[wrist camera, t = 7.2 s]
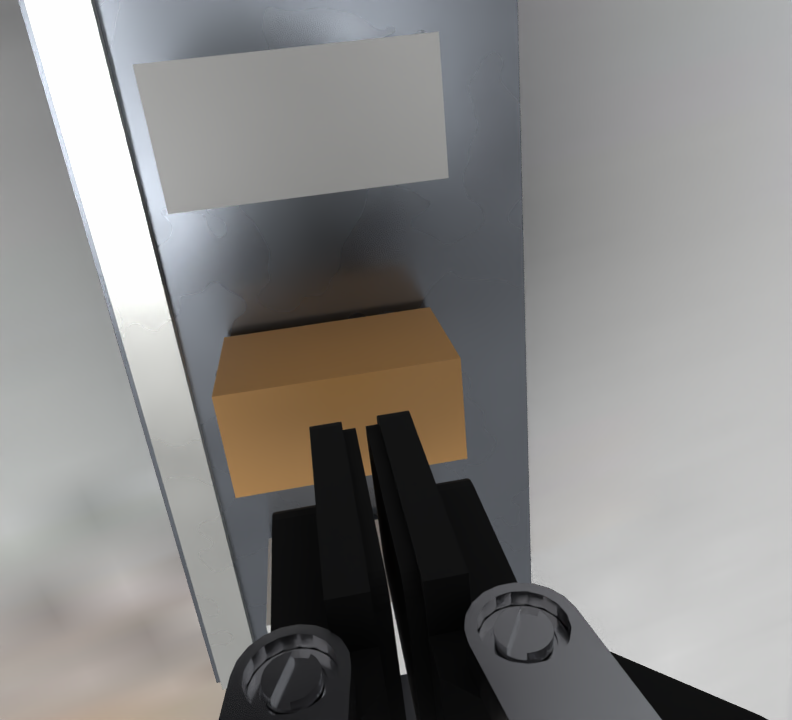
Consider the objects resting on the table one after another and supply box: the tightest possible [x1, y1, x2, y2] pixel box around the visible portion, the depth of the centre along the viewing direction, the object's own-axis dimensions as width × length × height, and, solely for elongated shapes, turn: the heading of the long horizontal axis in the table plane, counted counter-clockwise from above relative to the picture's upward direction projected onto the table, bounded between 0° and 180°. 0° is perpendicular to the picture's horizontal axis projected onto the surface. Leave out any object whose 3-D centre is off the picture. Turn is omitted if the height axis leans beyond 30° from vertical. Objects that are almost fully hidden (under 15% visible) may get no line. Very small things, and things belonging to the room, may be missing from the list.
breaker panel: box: [18, 0, 531, 689], centre depth 18 cm, size 20×10×3 cm, turn 6°
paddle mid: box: [212, 307, 467, 498], centre depth 16 cm, size 2×5×3 cm, turn 96°
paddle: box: [133, 32, 449, 214], centre depth 13 cm, size 2×5×3 cm, turn 96°
